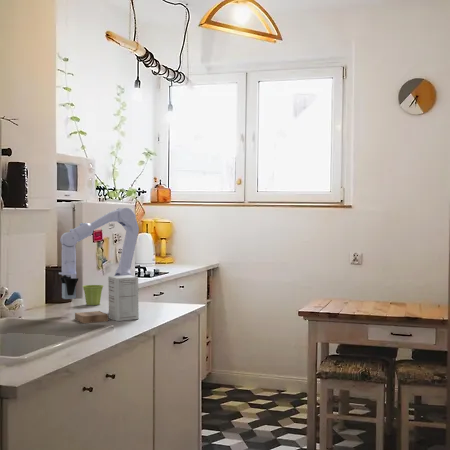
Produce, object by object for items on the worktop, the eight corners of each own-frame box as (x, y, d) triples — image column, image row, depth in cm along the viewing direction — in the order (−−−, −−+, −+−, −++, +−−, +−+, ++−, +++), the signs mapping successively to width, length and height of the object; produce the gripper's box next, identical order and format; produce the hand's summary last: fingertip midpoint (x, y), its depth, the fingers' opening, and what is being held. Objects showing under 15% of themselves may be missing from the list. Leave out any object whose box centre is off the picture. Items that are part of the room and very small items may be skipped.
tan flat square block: (99, 318, 251) (99, 311, 251) (108, 322, 242) (107, 314, 242) (75, 320, 246) (74, 312, 246) (82, 324, 237) (82, 316, 237)
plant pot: (82, 303, 290) (82, 285, 290) (103, 303, 292) (102, 284, 292) (82, 306, 281) (82, 287, 281) (104, 305, 283) (104, 286, 283)
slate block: (72, 297, 260) (72, 282, 260) (75, 298, 256) (75, 283, 256) (61, 297, 258) (61, 283, 258) (64, 299, 254) (64, 284, 254)
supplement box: (130, 316, 254) (130, 274, 254) (139, 319, 246) (139, 276, 246) (107, 318, 249) (107, 275, 249) (116, 321, 241) (116, 277, 241)
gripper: (54, 260, 261) (54, 293, 261) (63, 263, 248) (64, 297, 249) (71, 260, 264) (71, 292, 265) (81, 262, 252) (81, 296, 252)
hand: (68, 294), depth 257 cm, fingers closed on slate block, 4 cm apart
